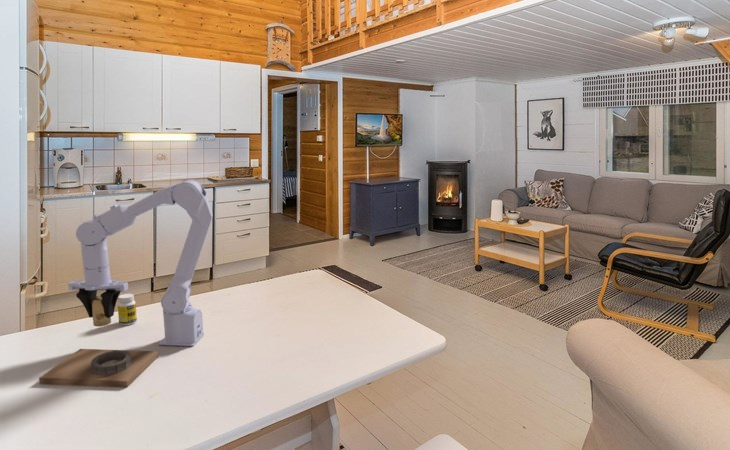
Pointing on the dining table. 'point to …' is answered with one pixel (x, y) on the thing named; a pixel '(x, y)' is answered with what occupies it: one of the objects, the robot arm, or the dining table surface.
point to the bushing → (99, 312)
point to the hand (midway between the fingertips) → (101, 316)
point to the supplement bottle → (127, 309)
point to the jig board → (100, 368)
